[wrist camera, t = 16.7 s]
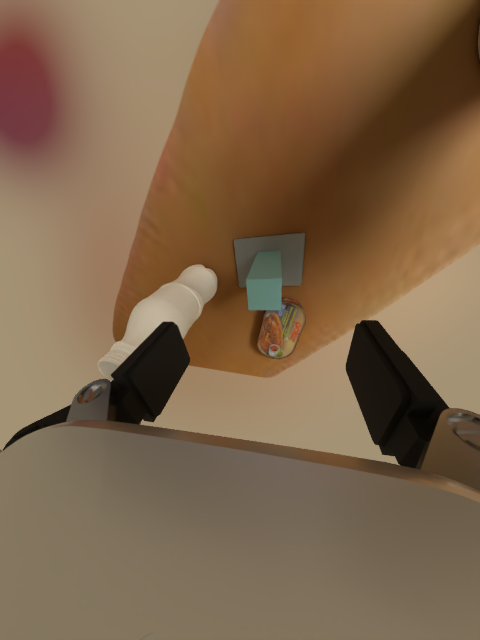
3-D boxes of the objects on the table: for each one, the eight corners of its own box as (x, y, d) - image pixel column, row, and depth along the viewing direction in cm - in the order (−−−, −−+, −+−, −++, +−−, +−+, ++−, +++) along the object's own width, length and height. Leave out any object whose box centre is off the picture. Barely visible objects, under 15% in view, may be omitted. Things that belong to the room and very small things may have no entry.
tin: (268, 298, 34) (313, 309, 33) (270, 291, 37) (311, 301, 36) (253, 354, 43) (288, 364, 42) (255, 345, 45) (288, 355, 44)
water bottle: (200, 253, 35) (86, 326, 14) (227, 279, 37) (162, 378, 16) (181, 277, 38) (67, 365, 18) (207, 300, 40) (131, 403, 20)
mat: (304, 232, 30) (305, 232, 29) (301, 284, 34) (301, 285, 34) (234, 239, 32) (233, 239, 32) (239, 286, 37) (239, 287, 36)
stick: (280, 273, 33) (281, 310, 22) (258, 274, 34) (248, 310, 23) (280, 250, 31) (281, 278, 20) (257, 252, 32) (245, 279, 21)
